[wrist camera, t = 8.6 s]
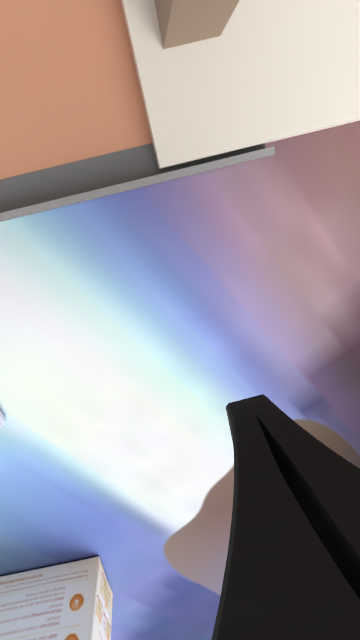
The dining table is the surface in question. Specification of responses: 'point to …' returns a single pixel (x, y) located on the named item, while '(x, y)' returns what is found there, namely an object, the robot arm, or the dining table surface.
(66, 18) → the box
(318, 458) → the robot arm
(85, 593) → the coffeecake box
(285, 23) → the cover
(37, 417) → the dining table surface
